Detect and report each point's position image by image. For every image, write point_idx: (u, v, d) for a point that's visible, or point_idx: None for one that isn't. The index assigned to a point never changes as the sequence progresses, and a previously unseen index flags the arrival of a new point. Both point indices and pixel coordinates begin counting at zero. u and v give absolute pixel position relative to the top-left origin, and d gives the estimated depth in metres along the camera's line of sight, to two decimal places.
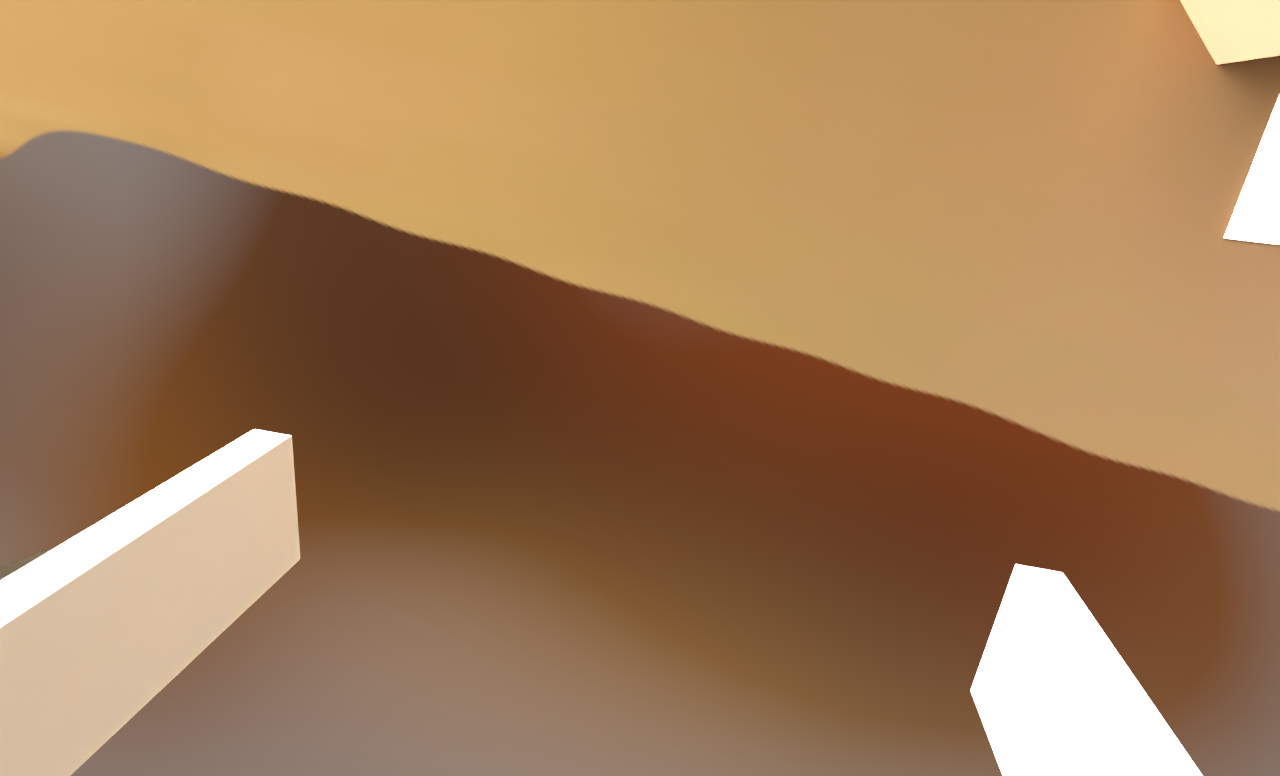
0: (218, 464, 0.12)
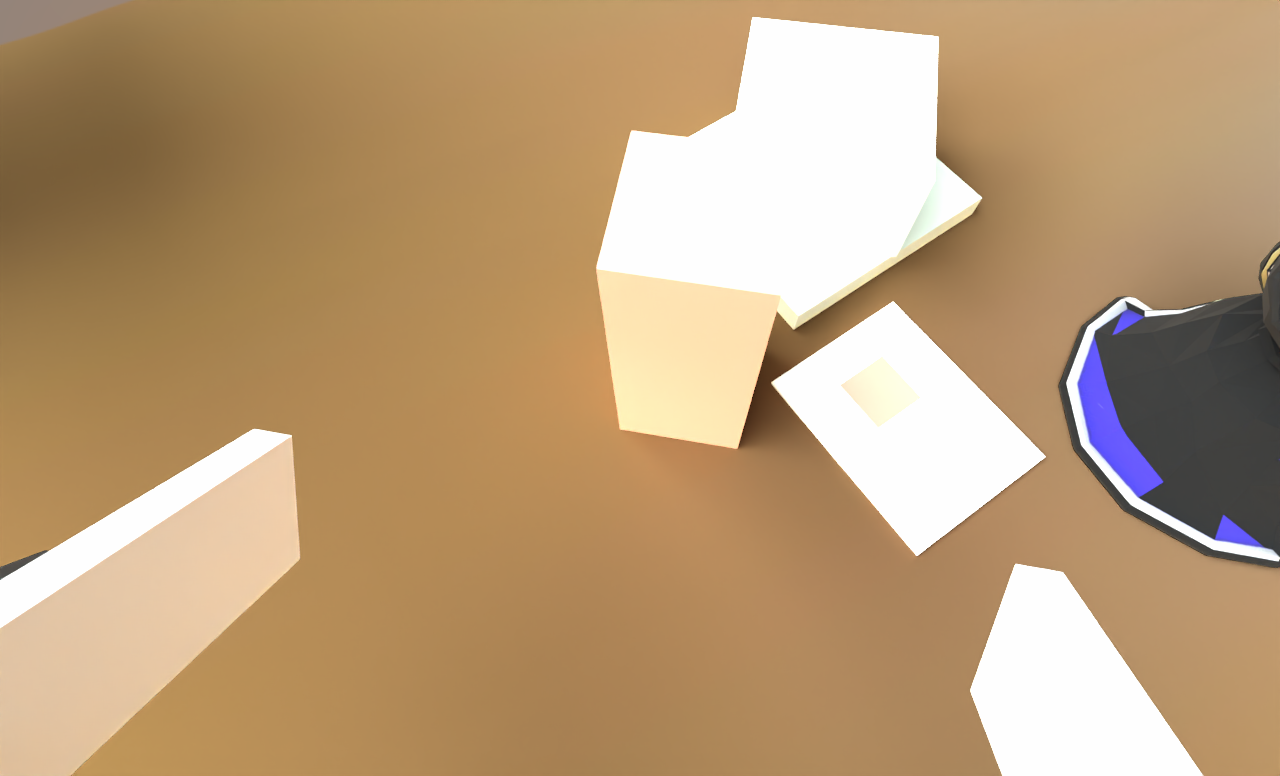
0: (218, 464, 0.12)
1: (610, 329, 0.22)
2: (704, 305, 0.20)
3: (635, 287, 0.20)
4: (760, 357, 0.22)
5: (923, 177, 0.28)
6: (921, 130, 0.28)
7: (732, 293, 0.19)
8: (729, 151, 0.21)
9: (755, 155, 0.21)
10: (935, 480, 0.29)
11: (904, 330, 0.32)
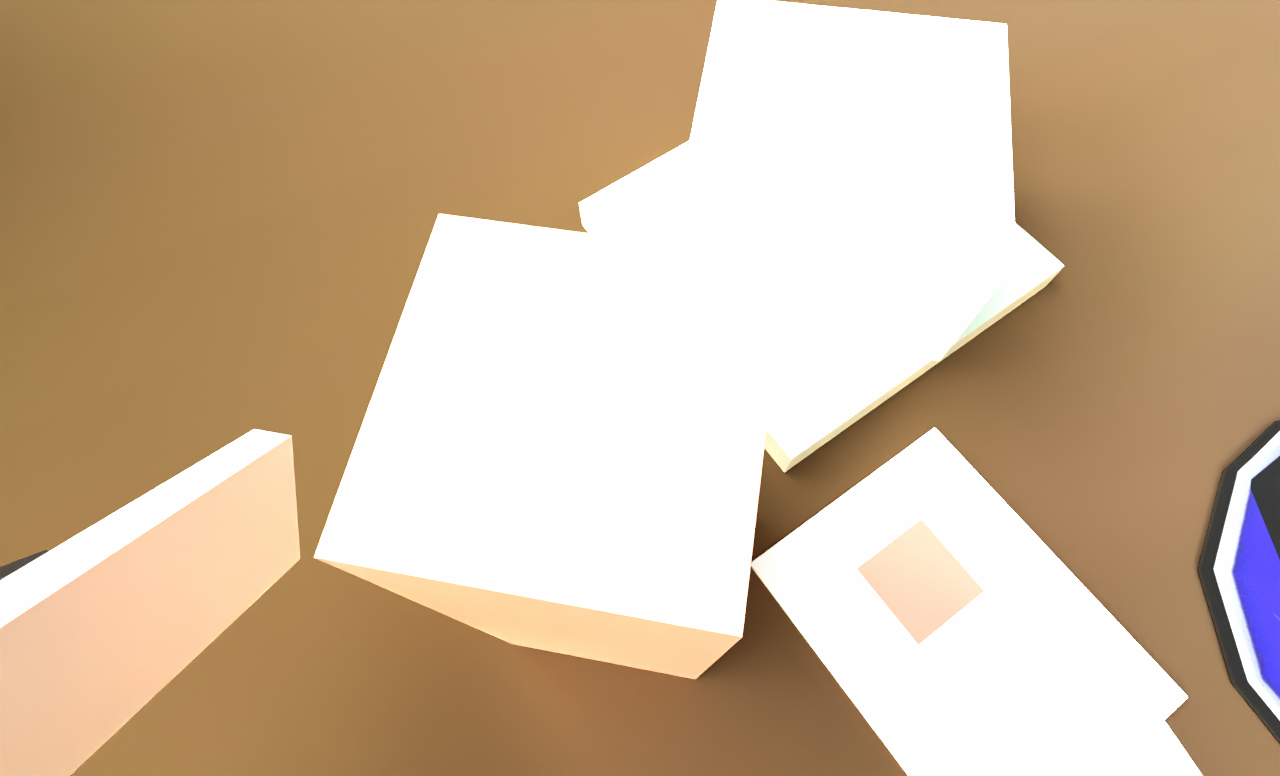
0: (217, 464, 0.12)
1: (416, 600, 0.11)
2: (577, 615, 0.09)
3: (418, 582, 0.09)
4: (712, 657, 0.11)
5: (997, 256, 0.17)
6: (989, 175, 0.17)
7: (628, 619, 0.08)
8: (638, 260, 0.10)
9: (693, 269, 0.10)
10: None
11: (954, 473, 0.21)
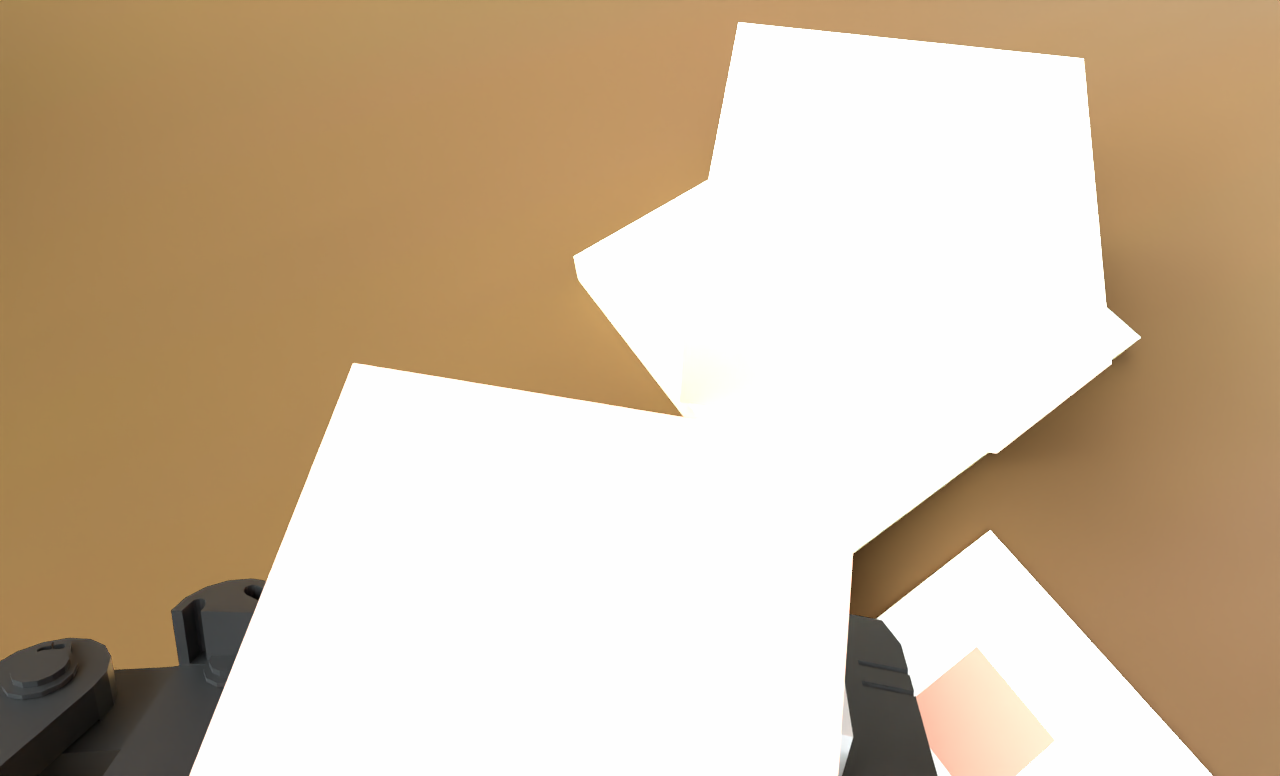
0: None
1: None
2: None
3: None
4: None
5: (1086, 353, 0.13)
6: (1071, 247, 0.14)
7: None
8: (641, 442, 0.07)
9: (722, 459, 0.07)
10: None
11: (1013, 587, 0.18)
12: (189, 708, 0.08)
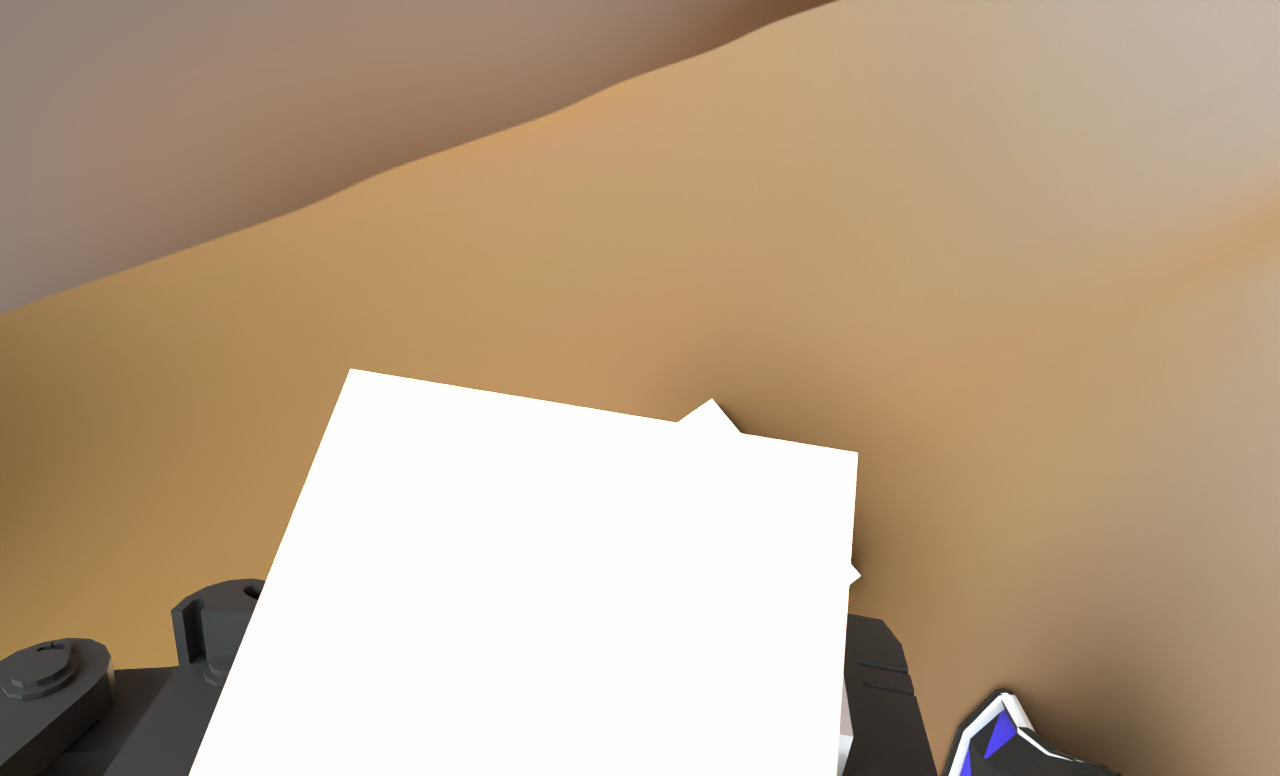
0: None
1: None
2: None
3: None
4: None
5: None
6: None
7: None
8: (639, 449, 0.07)
9: (720, 466, 0.07)
10: None
11: None
12: (189, 708, 0.08)
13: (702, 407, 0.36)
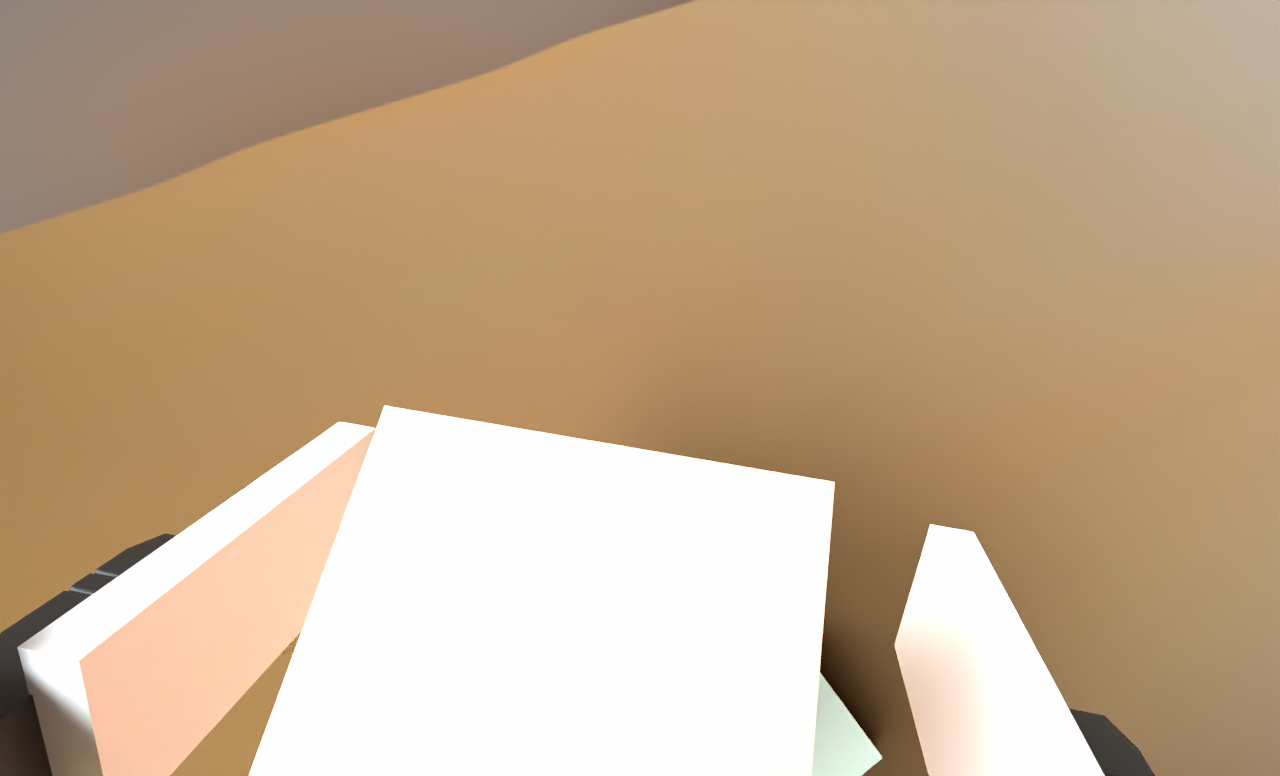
0: (314, 454, 0.13)
1: None
2: None
3: None
4: None
5: None
6: None
7: None
8: (641, 478, 0.08)
9: (713, 494, 0.07)
10: None
11: None
12: None
13: None
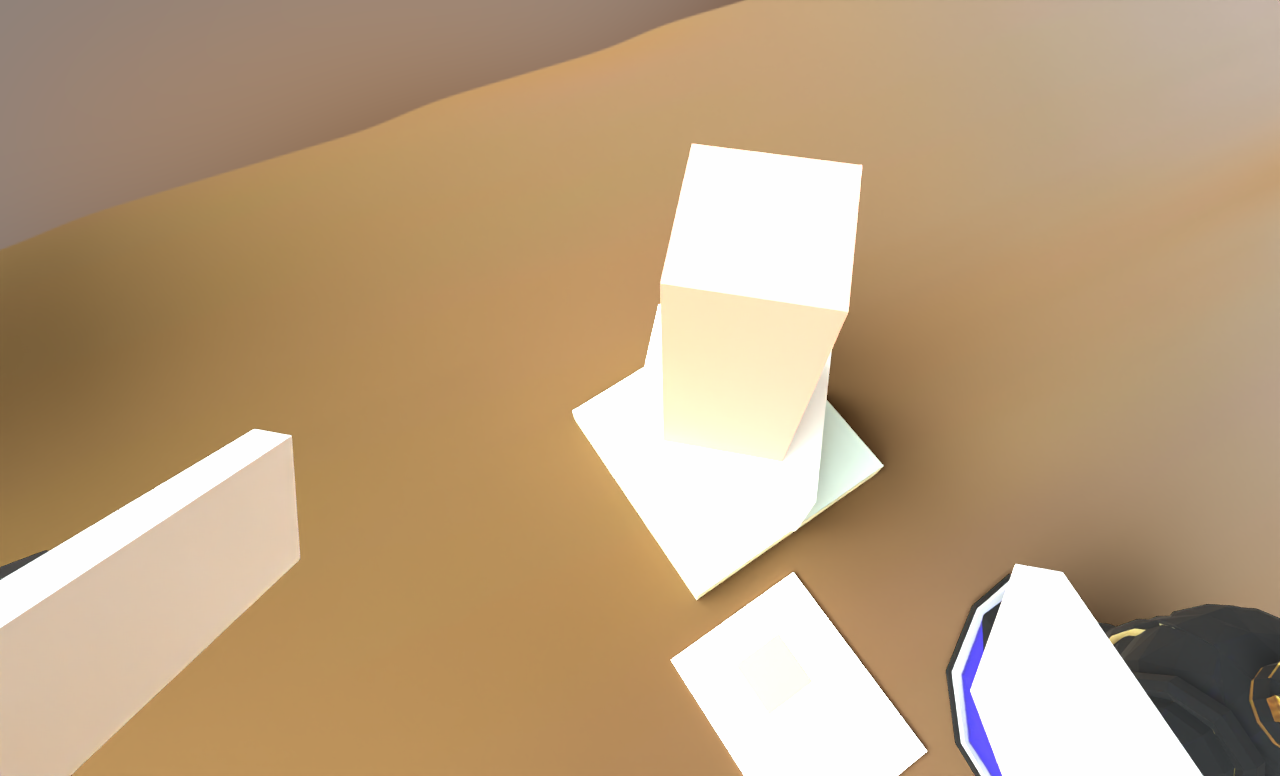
0: (218, 464, 0.12)
1: (666, 343, 0.22)
2: (767, 320, 0.20)
3: (698, 302, 0.20)
4: (818, 372, 0.22)
5: (805, 496, 0.29)
6: (807, 441, 0.30)
7: (797, 309, 0.19)
8: (791, 165, 0.21)
9: (818, 169, 0.21)
10: (819, 774, 0.30)
11: (802, 603, 0.33)
12: None
13: None
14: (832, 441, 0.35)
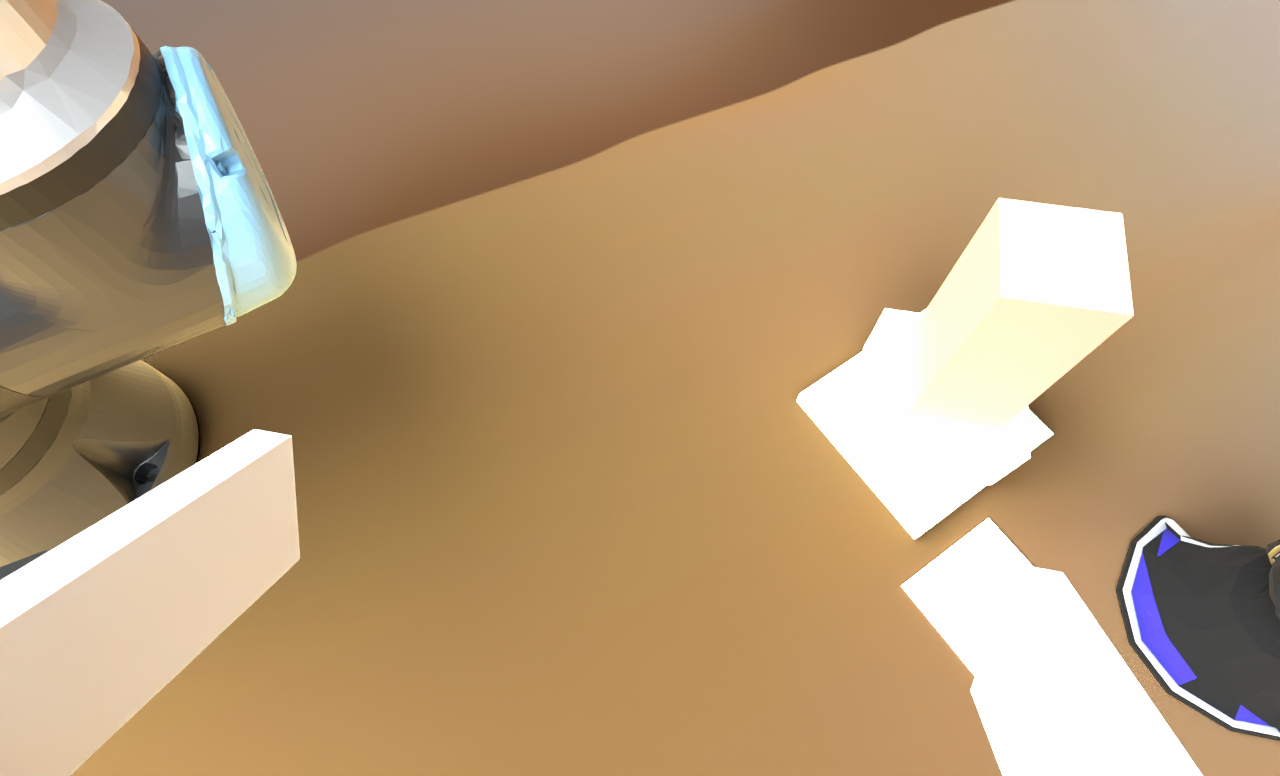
0: (218, 464, 0.12)
1: (972, 337, 0.31)
2: (1067, 321, 0.29)
3: (1021, 309, 0.29)
4: (1081, 357, 0.31)
5: (1022, 453, 0.38)
6: None
7: (1096, 313, 0.28)
8: (1072, 213, 0.30)
9: (1092, 216, 0.30)
10: None
11: (998, 541, 0.42)
12: None
13: None
14: None
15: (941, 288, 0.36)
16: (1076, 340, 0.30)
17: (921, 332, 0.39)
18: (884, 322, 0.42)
